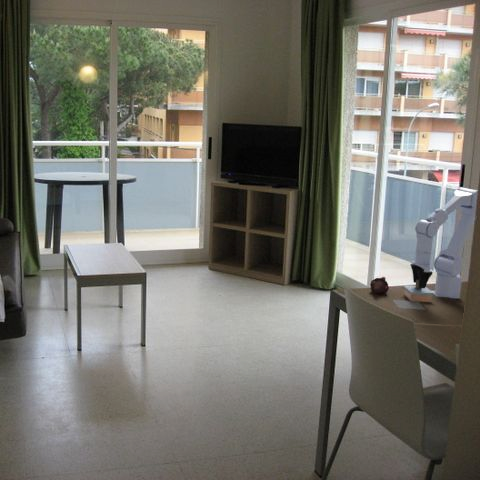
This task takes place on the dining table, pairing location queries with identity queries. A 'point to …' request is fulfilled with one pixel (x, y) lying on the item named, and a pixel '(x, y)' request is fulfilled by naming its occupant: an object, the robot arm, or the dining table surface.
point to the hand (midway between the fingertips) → (419, 285)
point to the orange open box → (418, 297)
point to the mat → (408, 304)
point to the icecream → (379, 285)
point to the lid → (418, 290)
